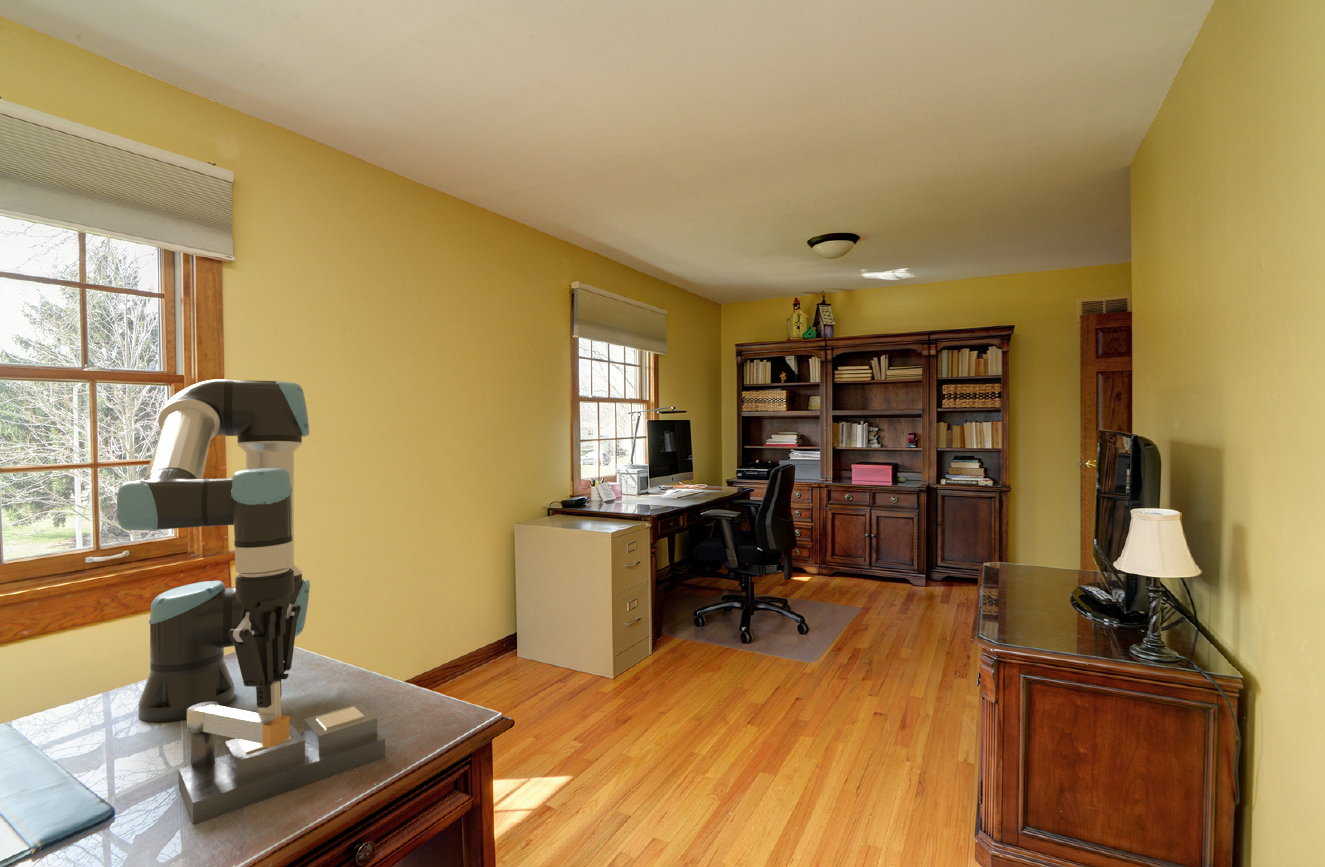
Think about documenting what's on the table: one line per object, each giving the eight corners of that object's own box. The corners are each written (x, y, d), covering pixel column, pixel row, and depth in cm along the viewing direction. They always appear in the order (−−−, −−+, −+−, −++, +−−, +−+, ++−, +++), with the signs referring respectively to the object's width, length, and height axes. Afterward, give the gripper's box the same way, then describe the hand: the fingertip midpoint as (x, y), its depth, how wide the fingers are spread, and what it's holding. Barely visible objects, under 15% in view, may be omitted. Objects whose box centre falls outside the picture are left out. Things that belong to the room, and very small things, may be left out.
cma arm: (180, 730, 97) (180, 710, 97) (206, 719, 101) (206, 699, 101) (268, 749, 92) (268, 727, 92) (291, 736, 96) (291, 715, 96)
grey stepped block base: (177, 784, 98) (177, 732, 98) (355, 728, 116) (355, 685, 116) (193, 824, 88) (192, 766, 88) (384, 756, 106) (385, 708, 106)
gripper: (270, 561, 103) (275, 705, 104) (208, 581, 90) (214, 745, 91) (315, 561, 103) (319, 706, 103) (258, 582, 90) (264, 747, 91)
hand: (270, 724), depth 97 cm, fingers closed
